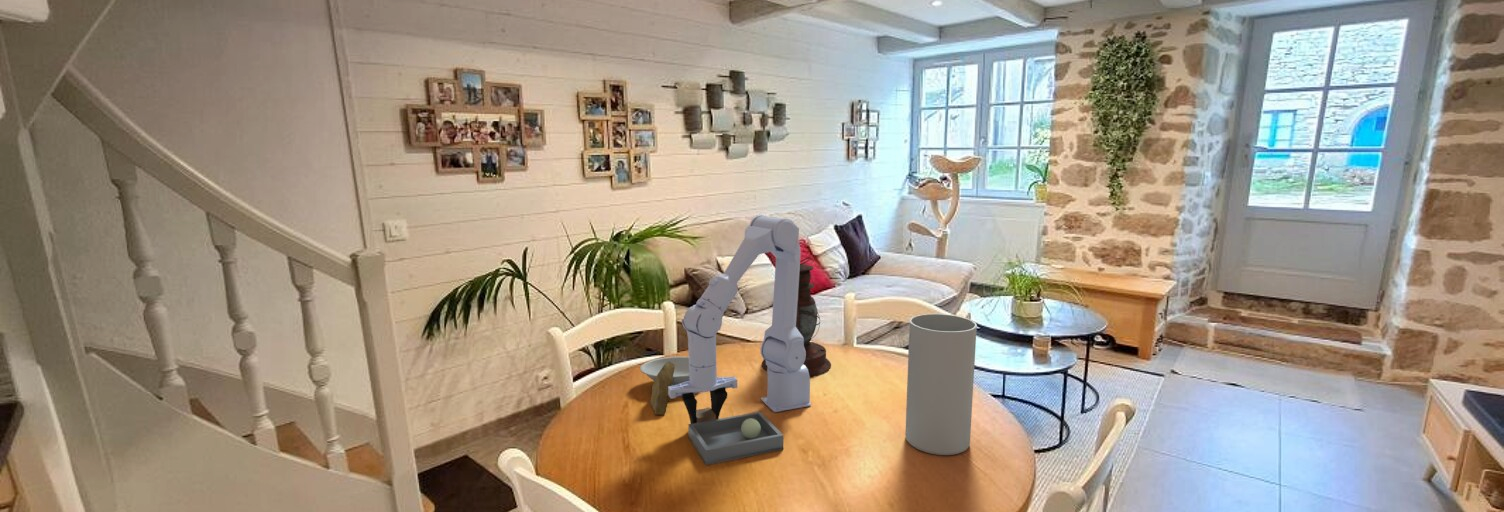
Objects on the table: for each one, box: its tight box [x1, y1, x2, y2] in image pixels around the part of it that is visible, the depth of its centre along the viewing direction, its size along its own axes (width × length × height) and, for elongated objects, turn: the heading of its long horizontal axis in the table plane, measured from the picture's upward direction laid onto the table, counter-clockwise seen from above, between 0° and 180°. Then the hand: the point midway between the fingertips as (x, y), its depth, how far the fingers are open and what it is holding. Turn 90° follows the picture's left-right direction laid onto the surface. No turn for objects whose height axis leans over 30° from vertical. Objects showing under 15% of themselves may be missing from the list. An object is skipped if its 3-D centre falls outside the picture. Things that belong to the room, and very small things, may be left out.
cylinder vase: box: [904, 313, 978, 456], centre depth 122 cm, size 12×12×25 cm
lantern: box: [761, 256, 832, 378], centre depth 166 cm, size 19×19×30 cm
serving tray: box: [687, 411, 784, 466], centre depth 124 cm, size 16×12×3 cm
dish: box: [639, 355, 689, 386], centre depth 155 cm, size 18×14×5 cm
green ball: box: [741, 418, 761, 439], centre depth 125 cm, size 4×4×4 cm
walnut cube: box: [696, 407, 716, 423], centre depth 130 cm, size 4×4×4 cm
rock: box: [649, 362, 675, 416], centre depth 142 cm, size 11×9×10 cm
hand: (704, 424), depth 130 cm, fingers closed on walnut cube, 4 cm apart
